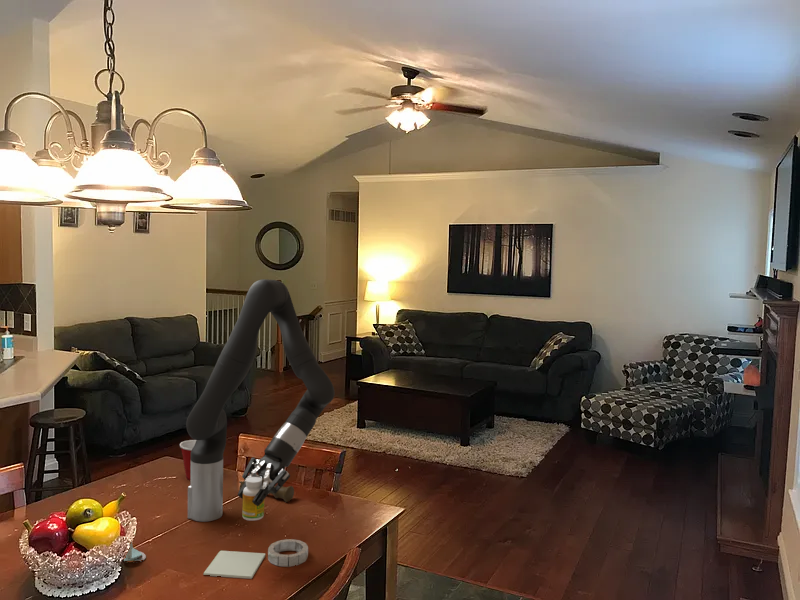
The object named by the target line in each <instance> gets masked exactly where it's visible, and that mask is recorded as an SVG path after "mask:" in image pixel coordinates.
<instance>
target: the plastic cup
mask: <svg viewBox="0 0 800 600" xmlns="http://www.w3.org/2000/svg"><path fill="white" fill-rule="evenodd" d="M195 443H196V440H195V439H189V440H184V441H181V442H180V443H179V448H180V449H181V450H180V451H181V455H182V459H183V466H184V467H183V468H184V471H185V477H186V480H188V481H191V450H192V449H193V447H194V445H195Z"/></svg>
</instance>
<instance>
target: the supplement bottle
mask: <svg viewBox="0 0 800 600" xmlns="http://www.w3.org/2000/svg"><path fill="white" fill-rule="evenodd" d="M260 489H262V479H261V478H259V477H250V478H247V479H246V487H245V488H244V490H243V499H242V509H241V510H242V512H241V513H242V514H241V515H242V518H243V519H244V520H246V521H260V520H261V519H263V518H264V515H265V499H264V500H263V502H262V503H261V504H260V505H259V506H256V505H255V504H254V503H253V502H252V501H253V499H254V498H255V496H256V495H257V493H258V492H259V490H260Z"/></svg>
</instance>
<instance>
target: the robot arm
mask: <svg viewBox="0 0 800 600" xmlns="http://www.w3.org/2000/svg"><path fill="white" fill-rule="evenodd" d="M269 313H271V315H272V316H273V318H274V319H275V322H276V323H277V324H278V327H279V330H280V334H281V338H282V340H281V341H282V345H283V350H284V353H285V357H286V359H287V361H288V362H289V363H288V364H289V365H290V366H291V369H292V371H293V373H294V374H295V376H296V377H297V379H300V380H301V381H302V382H303V383H304V386H305V388H306V391H305V392H304V393H303V395H302V397H301V398H300V400H299V402H298V403H297V405H296V407H295V409H294V410H292V411H291V413H290V414H289V415H288V418H286V420H285V422H284V423H283V424H282V425H281V427H280V428H278V431H276V433H275V434H274V435H273V437H272V439H271V440H270V442H269V443H268V445H267V446H266V448H265V449H264V455H263V456H262V457H261V458H260V459H256V458H255V457H251V458H250V460H249V462H248V464H247V465H246V467H245V469H244V471H243V474H242V475H241V477H242V479H243V481H245V483H244V484H243V486H242V487H241V489H240V490H238V492H237V497H238V498H240V499H241V500H243V490H244V488H245V487H246V479H247V478H250V477H259V478H261V479H264V483H263V486H262V489H260V490H259V492H258V493H257V495H256V496H255V498H254V499H253V501H252V502H253V503H254V504H255V505H256V506H259V505H260V504H261V503H262V502H263V500H264V501H265V499H266V498H267V496H268V495H269V494H271V493H274V494H275V493H277V491H278V490H279V489H280V488H281V487H282V486H283V487H284V485H285V483H287V481H288V480H289V479H290V478H291V474H290V472H288V471H287V470H286V468H287V467H289V466H290V465H291V464H292V462H293V460H294V459H295V457H296V456H297V454H298V453H299V451H300V449H301V448H302V447H303V445H304V443H305V440H307V438H308V436H309V434H310V433H311V431H312V429H314V427H315V425H316V421H317V419H319V416H321V413H323V411H324V410H325V408H326V407H327V406H328V405H329V404H330V403H331V402H332V401H333V400H334V398H335V394H336V393H335V387H334V384H333V382H332V381H331V379H330V377H329V376H328V374H327V373H326V372H325V370H324V369H323V368H322V367H321V366H320V364H319V363H318V360H317V358H316V356H315V354H314V352H313V350H312V348H311V346H310V344H309V343H308V340H307V338H306V336H305V334H304V332H303V329H302V327H301V324H300V321H299V319H298V316H297V313H296V310H295V307H294V304H293V300H292V297H291V295H290V292H289V289H288V288H287V286H286V285H285V284H284V283H283V282H282V281H281V280H276V279H268V278H267V279H264V278H263V279H259V280H256V281H254V282H253V284H252V285H250V287H249V289H248V290H247V293H246V296H245V299H244V302H243V305H242V307H241V310H240V312H239V315H238V318H237V320H236V323H235V324H234V326H233V329H232V330H231V332H230V335H229V337H228V339H227V341H226V342H225V344H224V347H223V349H222V350H221V352H220V354H219V356H218V358H217V361H216V363H215V365H214V367H213V369H212V371H211V374H210V375H209V378H208V380H207V383H206V385H205V388H204V389H203V391H202V393H201V395H200V396H199V398H198V400H197V402H196V403H195V404H194V406H193V408H192V409H191V411H190V412H189V414H188V416H187V419H186V424H185V427H186V431H187V433H188V435H189V437H190V438H191V439H192V440H196V443H195V445H194V447H193V449H192V450H191V480H190V484H189V485H188V486H187V519H188V520H189V519H191V520H193V521H195V522H204V523H206V522H211V521H215V520H218V519H221V518H222V516H223V509H224V506H223V502H224V501H223V500H224V494H223V493H224V492H223V491H224V452H225V449H226V444H227V431H228V430H227V429H228V419H227V418H228V417H227V414H226V411H225V410H224V407H225V405H226V403H227V401H229V399H230V398H231V396H232V395H233V394H234V393H235V391H237V389H238V388H239V386H240V385H241V383H242V382H243V381H244V380H245V378H246V376H247V375H248V373H249V371H250V369H251V368H252V366H253V363H254V361H255V359H256V355H257V349H258V336H259V332H260V329H261V327H262V325H263V323H264V322H265V320H266V318H267V316H268V314H269ZM258 475H259V476H258ZM274 486H276V487H274Z"/></svg>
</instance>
